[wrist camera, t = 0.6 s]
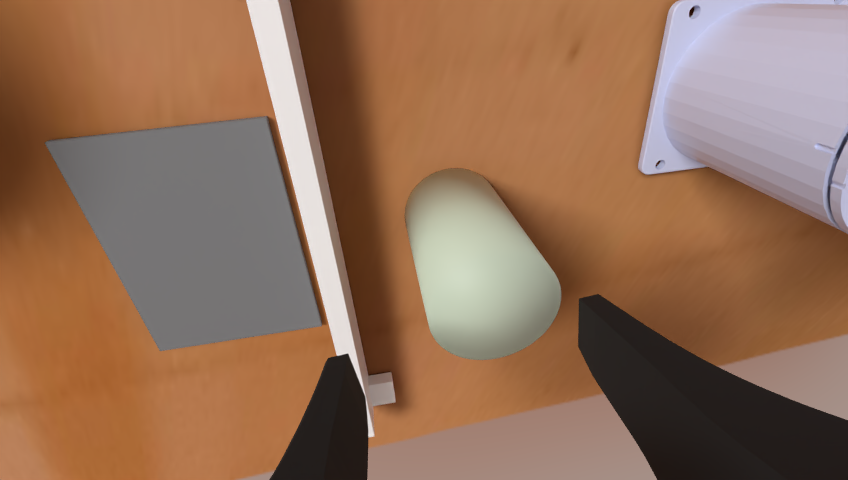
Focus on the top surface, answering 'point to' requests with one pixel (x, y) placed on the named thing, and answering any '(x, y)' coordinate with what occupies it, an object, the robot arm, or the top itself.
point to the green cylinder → (477, 268)
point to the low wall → (312, 186)
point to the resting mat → (195, 228)
